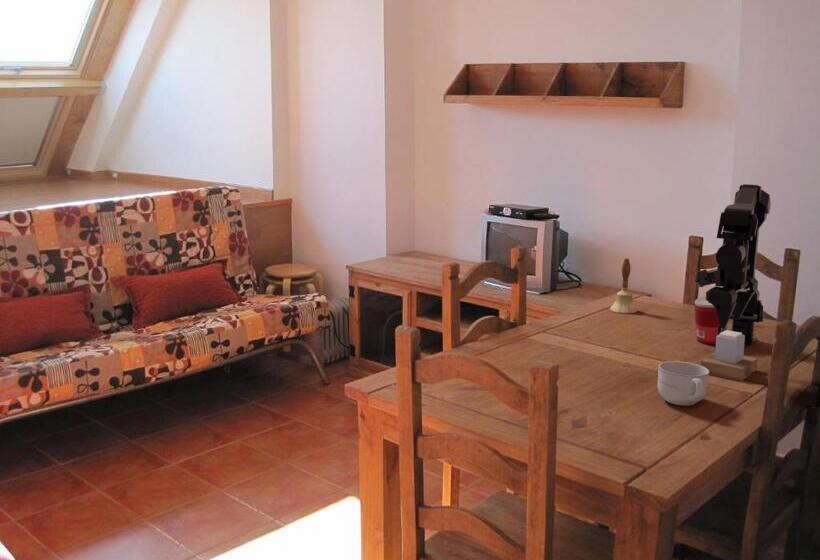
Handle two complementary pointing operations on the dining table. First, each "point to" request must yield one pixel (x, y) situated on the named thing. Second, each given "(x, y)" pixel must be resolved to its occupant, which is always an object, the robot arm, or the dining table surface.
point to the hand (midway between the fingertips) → (729, 323)
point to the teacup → (682, 382)
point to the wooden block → (730, 367)
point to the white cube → (729, 347)
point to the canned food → (706, 322)
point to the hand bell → (624, 293)
